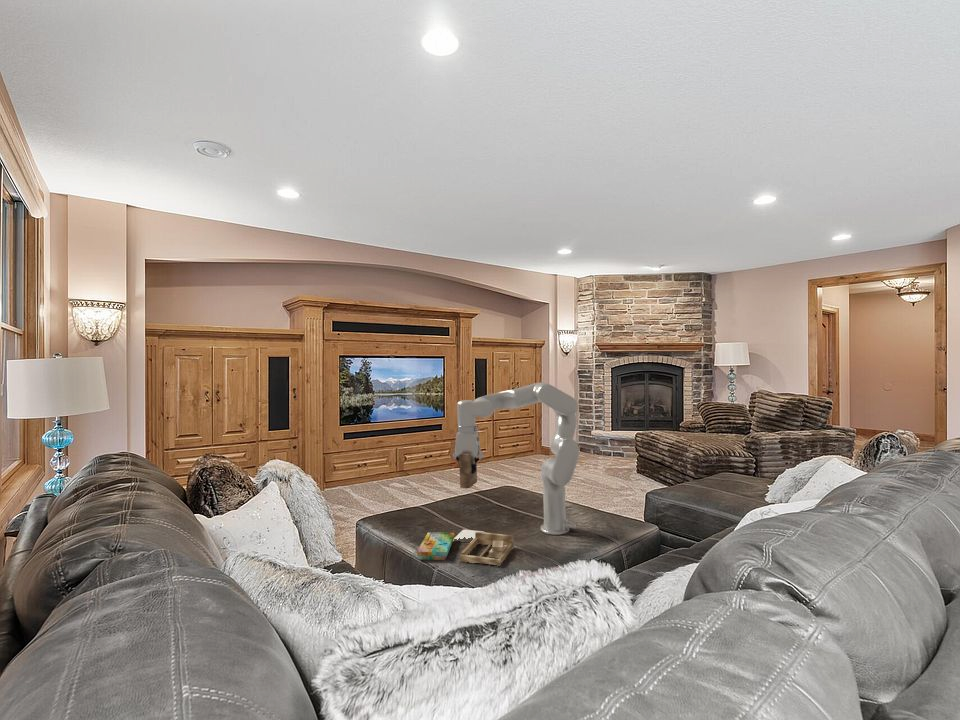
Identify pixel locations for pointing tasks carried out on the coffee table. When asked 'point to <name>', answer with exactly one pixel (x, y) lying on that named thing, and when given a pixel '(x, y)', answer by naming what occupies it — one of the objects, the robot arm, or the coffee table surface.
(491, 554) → the offcut low
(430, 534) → the puzzle game
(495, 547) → the offcut top
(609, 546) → the coffee table surface
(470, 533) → the mat
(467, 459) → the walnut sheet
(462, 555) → the frame
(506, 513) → the coffee table surface
